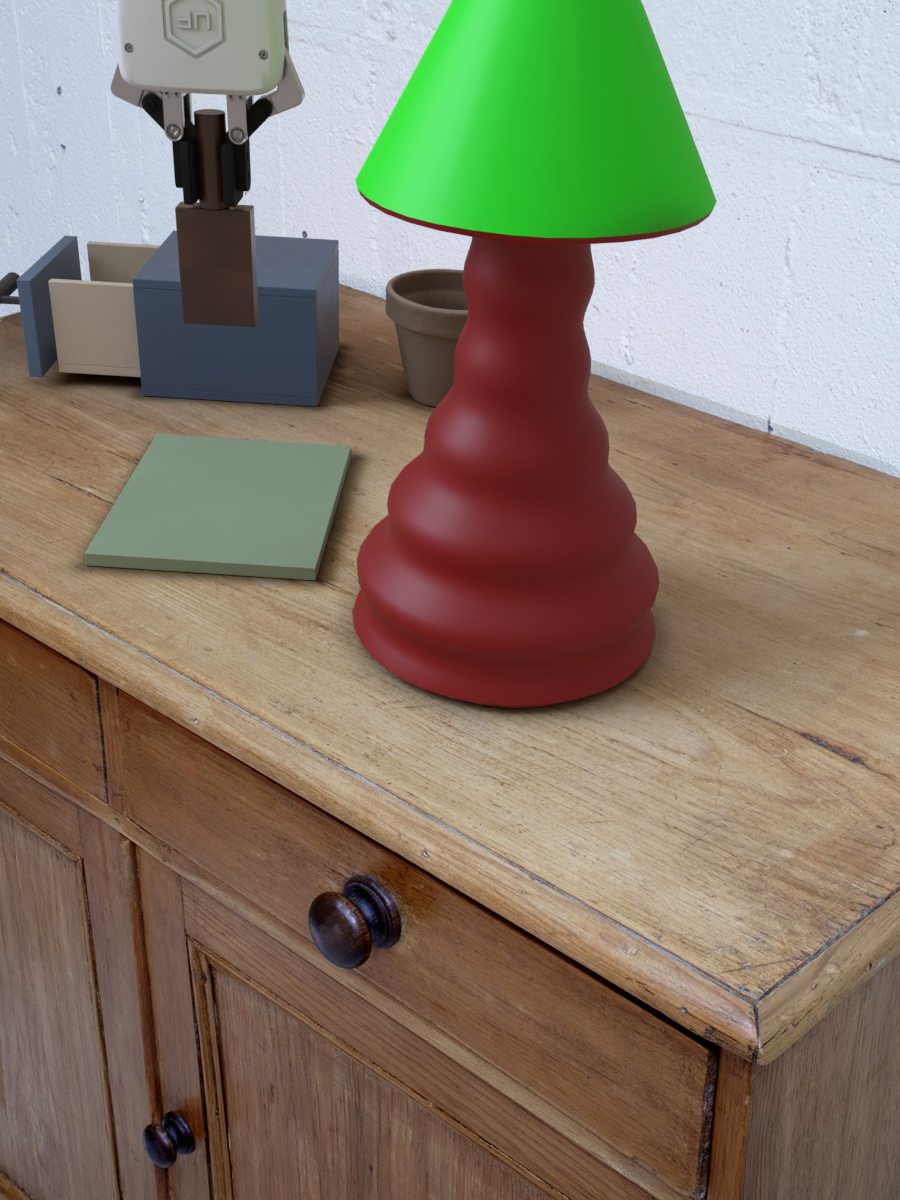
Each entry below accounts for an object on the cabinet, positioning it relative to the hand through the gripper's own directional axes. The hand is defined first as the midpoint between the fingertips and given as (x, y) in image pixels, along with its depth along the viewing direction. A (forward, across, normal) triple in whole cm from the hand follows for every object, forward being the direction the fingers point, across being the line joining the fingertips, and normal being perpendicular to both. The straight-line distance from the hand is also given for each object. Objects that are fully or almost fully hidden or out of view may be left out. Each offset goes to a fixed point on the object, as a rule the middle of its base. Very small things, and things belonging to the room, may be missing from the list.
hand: (214, 198), depth 87 cm
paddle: (+9, 0, 0) cm, 9 cm away
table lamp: (+23, +21, -14) cm, 34 cm away
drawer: (+22, -17, +27) cm, 39 cm away
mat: (+23, 0, 0) cm, 23 cm away
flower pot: (+23, +15, +24) cm, 37 cm away
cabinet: (+23, -4, +27) cm, 36 cm away
